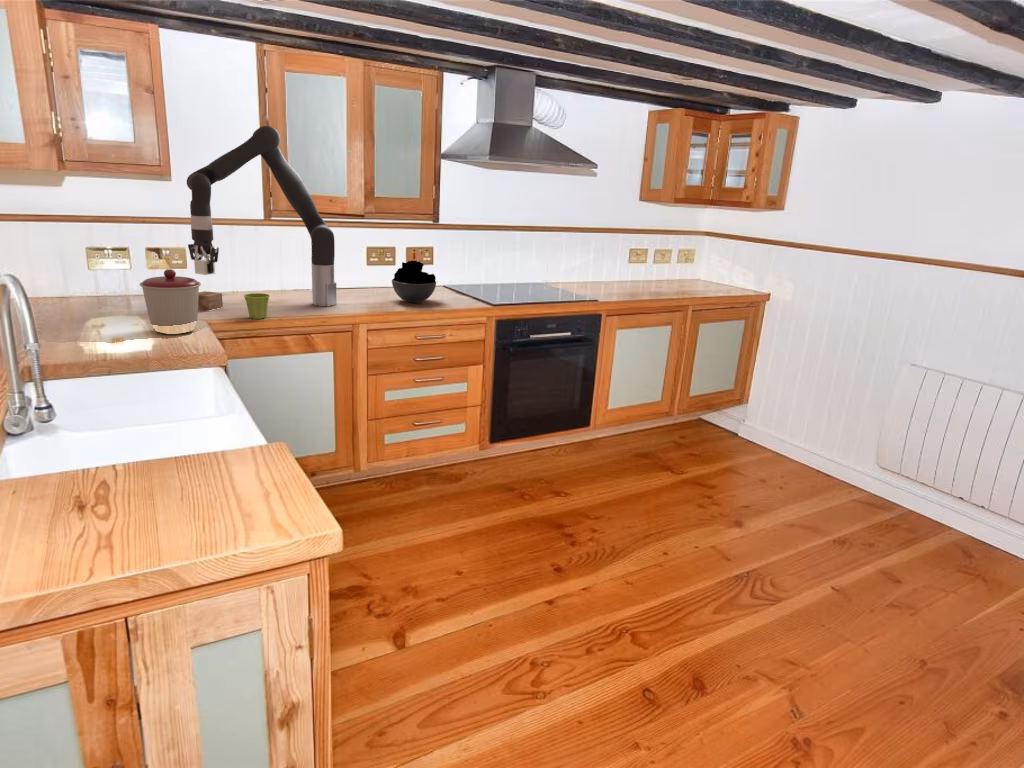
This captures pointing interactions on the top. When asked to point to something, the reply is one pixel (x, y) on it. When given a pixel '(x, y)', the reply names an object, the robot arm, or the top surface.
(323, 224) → the robot arm
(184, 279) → the canister
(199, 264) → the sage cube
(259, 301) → the plant pot
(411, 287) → the bowl of black rocks
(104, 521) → the top surface
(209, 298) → the walnut block
